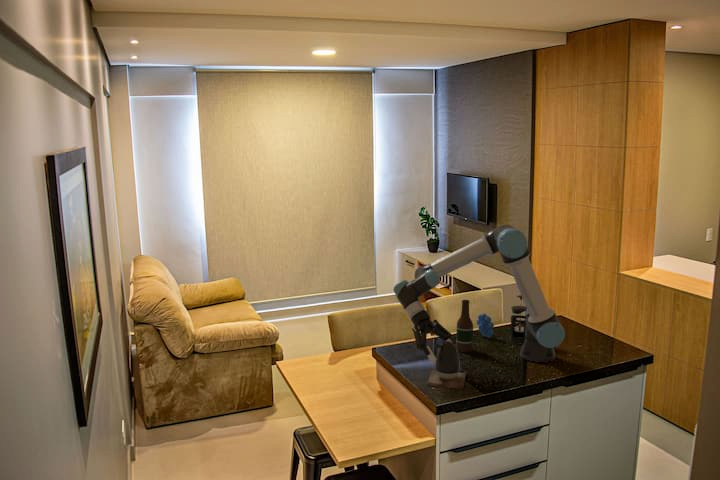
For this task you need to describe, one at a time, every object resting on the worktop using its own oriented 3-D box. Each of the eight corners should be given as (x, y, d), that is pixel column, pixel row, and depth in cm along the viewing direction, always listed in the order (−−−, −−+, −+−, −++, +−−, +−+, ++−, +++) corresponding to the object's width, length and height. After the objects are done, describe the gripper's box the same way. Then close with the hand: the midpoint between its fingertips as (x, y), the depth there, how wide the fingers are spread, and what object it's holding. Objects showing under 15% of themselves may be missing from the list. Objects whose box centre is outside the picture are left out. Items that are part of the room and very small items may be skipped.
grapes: (470, 335, 307) (471, 312, 305) (480, 333, 310) (481, 310, 309) (486, 341, 297) (487, 317, 295) (496, 339, 301) (497, 315, 299)
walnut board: (465, 375, 252) (465, 373, 252) (462, 388, 239) (463, 385, 238) (431, 372, 255) (432, 370, 255) (427, 385, 242) (427, 382, 242)
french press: (534, 343, 294) (536, 297, 290) (517, 345, 291) (519, 299, 287) (519, 336, 305) (521, 292, 301) (503, 338, 302) (505, 293, 298)
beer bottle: (454, 351, 282) (455, 301, 279) (457, 346, 289) (459, 297, 286) (470, 353, 279) (472, 303, 276) (474, 348, 287) (475, 299, 283)
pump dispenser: (431, 373, 252) (432, 338, 249) (456, 372, 252) (457, 337, 250) (437, 382, 241) (437, 345, 239) (462, 381, 242) (463, 345, 240)
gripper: (432, 313, 265) (458, 355, 257) (392, 324, 248) (419, 369, 240) (441, 304, 261) (469, 346, 252) (402, 314, 244) (430, 360, 235)
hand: (445, 357), depth 246 cm, fingers open, 13 cm apart
